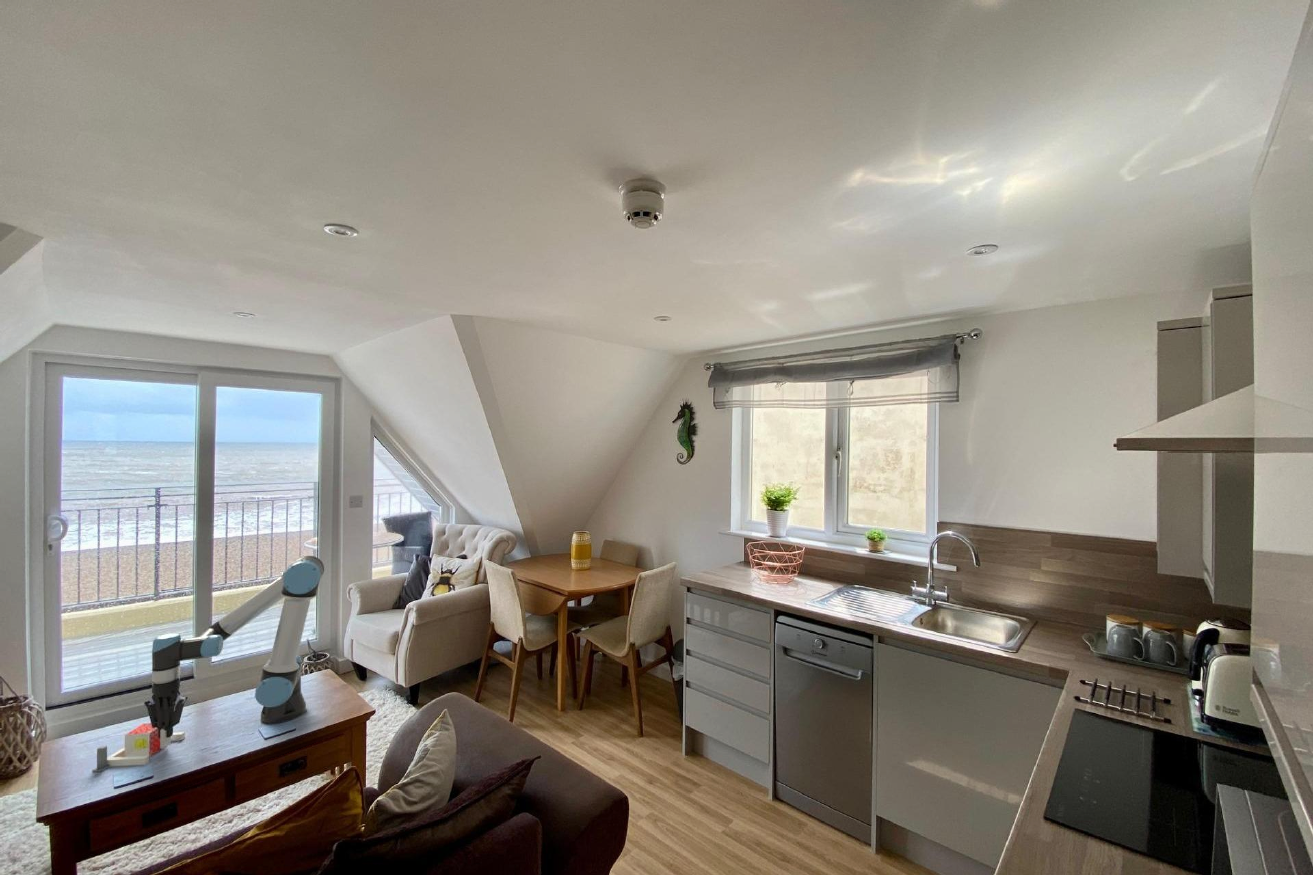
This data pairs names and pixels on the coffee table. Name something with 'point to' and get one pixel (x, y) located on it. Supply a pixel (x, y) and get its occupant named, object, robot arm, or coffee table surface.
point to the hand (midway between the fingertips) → (165, 746)
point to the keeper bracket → (120, 760)
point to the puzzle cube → (142, 741)
